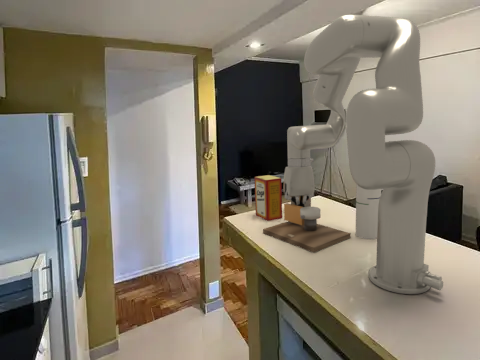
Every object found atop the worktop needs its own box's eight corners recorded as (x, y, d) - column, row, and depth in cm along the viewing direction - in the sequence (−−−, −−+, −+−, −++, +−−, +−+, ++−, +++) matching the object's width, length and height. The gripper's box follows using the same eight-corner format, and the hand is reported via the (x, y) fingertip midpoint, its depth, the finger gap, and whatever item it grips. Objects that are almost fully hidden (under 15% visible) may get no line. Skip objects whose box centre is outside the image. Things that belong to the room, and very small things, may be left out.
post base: (350, 237, 100) (350, 220, 99) (314, 252, 90) (313, 234, 89) (298, 222, 117) (298, 207, 116) (263, 233, 108) (262, 217, 107)
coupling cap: (326, 225, 105) (326, 208, 104) (309, 232, 100) (309, 213, 99) (294, 217, 116) (293, 201, 115) (277, 222, 111) (277, 205, 110)
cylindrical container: (382, 239, 98) (384, 157, 93) (357, 238, 99) (359, 158, 94) (376, 231, 104) (379, 154, 100) (353, 230, 106) (355, 155, 101)
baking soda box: (255, 215, 129) (254, 175, 126) (269, 212, 132) (268, 174, 129) (267, 221, 120) (266, 179, 118) (282, 218, 123) (281, 177, 120)
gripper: (313, 160, 115) (313, 209, 118) (274, 163, 111) (275, 214, 114) (324, 162, 108) (324, 215, 111) (282, 165, 104) (284, 220, 107)
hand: (299, 214), depth 112 cm, fingers closed
